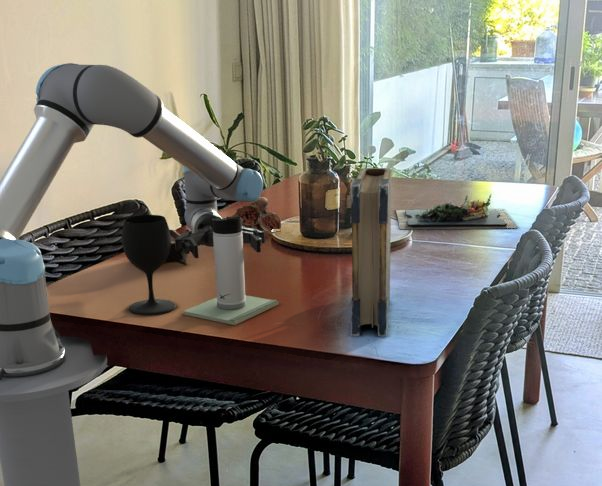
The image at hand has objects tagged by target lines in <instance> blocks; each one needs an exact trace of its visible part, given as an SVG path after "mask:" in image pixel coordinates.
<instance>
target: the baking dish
mask: <svg viewBox="0 0 602 486" xmlns="http://www.w3.org/2000/svg"><path fill="white" fill-rule="evenodd" d="M169 230H170V235H171V249H170V253H169V255H168V257H167V259H166V261H165V262H164V263H176V264H181V265H185V266H187V254H185V252H184V248H183V249H182V250H180V251H176V247H175V239H176V238H177V237H179V236H180V235H181V234H180V233H179V232H177V231H176V230H174V229H170V228H169Z"/></svg>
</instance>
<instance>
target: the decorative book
mask: <svg viewBox="0 0 602 486" xmlns="http://www.w3.org/2000/svg"><path fill="white" fill-rule="evenodd" d="M349 190H350V194H349V196H350V197H349V198H350V200H349V203H350V208H349V209H350V211H349V212H350V213H349V214H350V216H349V219H350V224H351V241H352V242H351V260H352V261H351V272H352V273H351V279H352V280H351V281H352V283H351V284H352V285H351V288H352V290H351V295H352V296H351V299H350V336H351V337H360V335H361V331H362V327H363V326H364V325H371V328H372V329H373V328H374V326H376V327H377V337H382V338H384V337H385V338H386V337H387V334H388V329H389V328H388V327H389V312H390V310H389V309H390V303H391V298H390V297H391V238H392V237H391V235H392V234H391V229H392V228H391V226H392V224H391V223H392V221H391V220H392V170H391V169H390V168H386V167H367V168H366V167H365V168H362V169H360V171H359V172H358V175H357V177H356V178H353V179H352V181H351V183H350V189H349Z"/></svg>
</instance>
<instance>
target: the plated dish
mask: <svg viewBox="0 0 602 486" xmlns="http://www.w3.org/2000/svg"><path fill="white" fill-rule="evenodd" d="M491 198H492V193H490V195H489V196H488V198H487V200H486V202H485V201H484V199H483V200H479V199H477V200H475V199H474V200H468V194H467V195H466V196H465V199H464V202H463V203H462V204H459V206H458V205H454V204H452V202H449V203H448V202H445V203H443V204H436V205H433V207H432V208H430V207H428V208H426V209H395V213H396V217H397V221H398V226H399V230H452V229H453V230H457V229H458V230H459V229H460V230H461V229H462V230H463V229H470V230H471V229H473V230H475V229H518V227H517V225H516V224H515V223H514V222H513V220H512V219H511V218H510V217H509V215H508V214H507V212H506V211H505V210H504V209H501V208H499V209H495V208H494V209H491V208H490V209H489V206H490V205H491Z"/></svg>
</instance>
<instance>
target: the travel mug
mask: <svg viewBox="0 0 602 486" xmlns="http://www.w3.org/2000/svg"><path fill="white" fill-rule="evenodd" d="M212 221H213V242H214V247H213V258H214V275H215V291H216V292H215V293H216V297H217V306H218V307H219V308H221V309H225V310H235V309H240V308H242V307H244V306H245V305H246V299H245V295H246V280H245V278H246V277H245V259H244V243H243V234H242V227H241V226H242V218H241V217H233V216H226V217H222V219H219V218H215V219H213V220H212Z"/></svg>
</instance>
